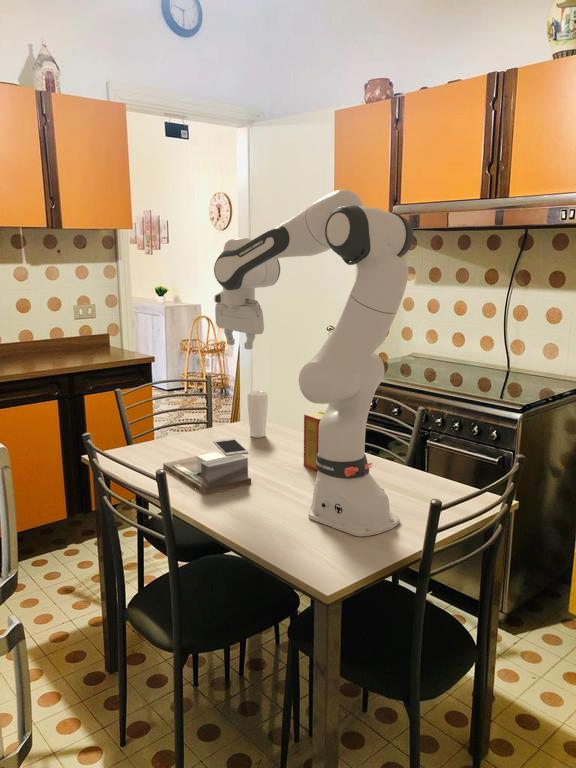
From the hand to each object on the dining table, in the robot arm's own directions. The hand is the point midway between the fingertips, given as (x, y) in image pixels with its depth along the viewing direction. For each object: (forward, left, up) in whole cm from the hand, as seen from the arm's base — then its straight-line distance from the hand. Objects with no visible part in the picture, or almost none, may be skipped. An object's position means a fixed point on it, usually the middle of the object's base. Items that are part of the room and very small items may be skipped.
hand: (239, 346), depth 179 cm
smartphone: (+16, -6, -36) cm, 40 cm away
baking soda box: (-15, -19, -35) cm, 43 cm away
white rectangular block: (-5, +14, -34) cm, 37 cm away
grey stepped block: (-2, +13, -35) cm, 37 cm away
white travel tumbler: (+21, -20, -35) cm, 46 cm away
